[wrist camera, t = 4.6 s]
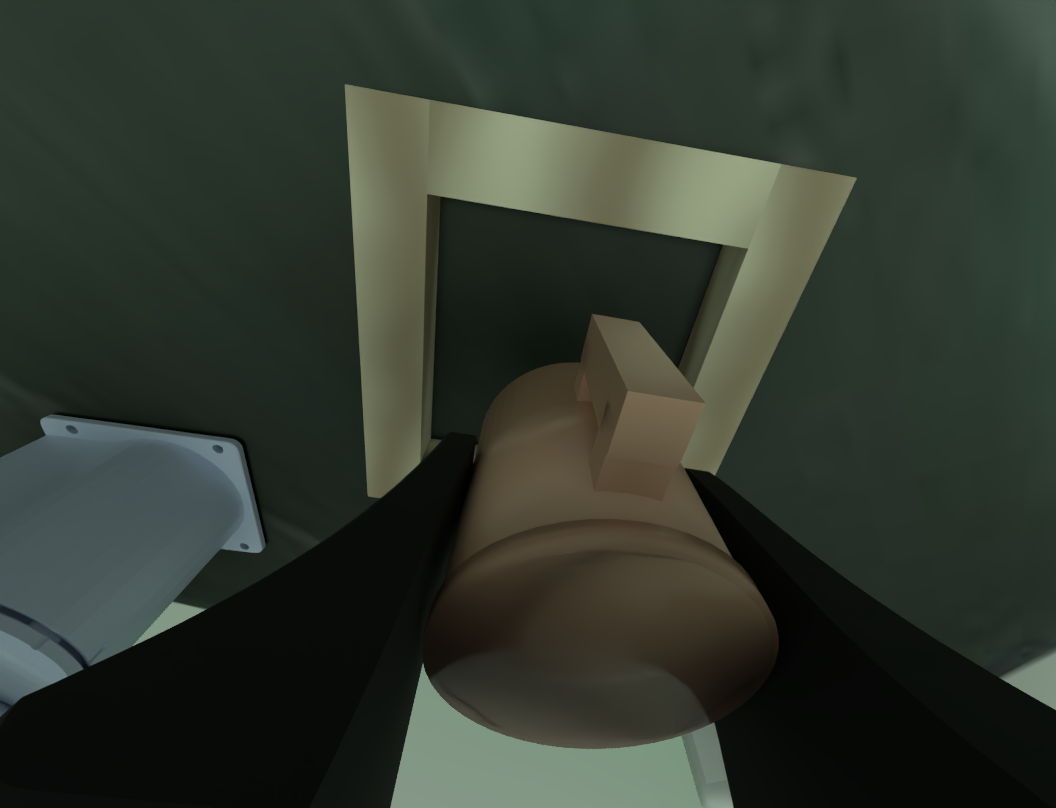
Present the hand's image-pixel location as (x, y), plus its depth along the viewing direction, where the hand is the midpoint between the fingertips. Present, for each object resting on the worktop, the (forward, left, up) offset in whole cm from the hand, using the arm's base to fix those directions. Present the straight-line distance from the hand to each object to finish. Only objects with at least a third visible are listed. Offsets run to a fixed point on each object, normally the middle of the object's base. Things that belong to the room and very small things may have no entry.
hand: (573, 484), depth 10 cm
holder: (0, 0, -9) cm, 9 cm away
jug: (0, 0, -2) cm, 2 cm away
